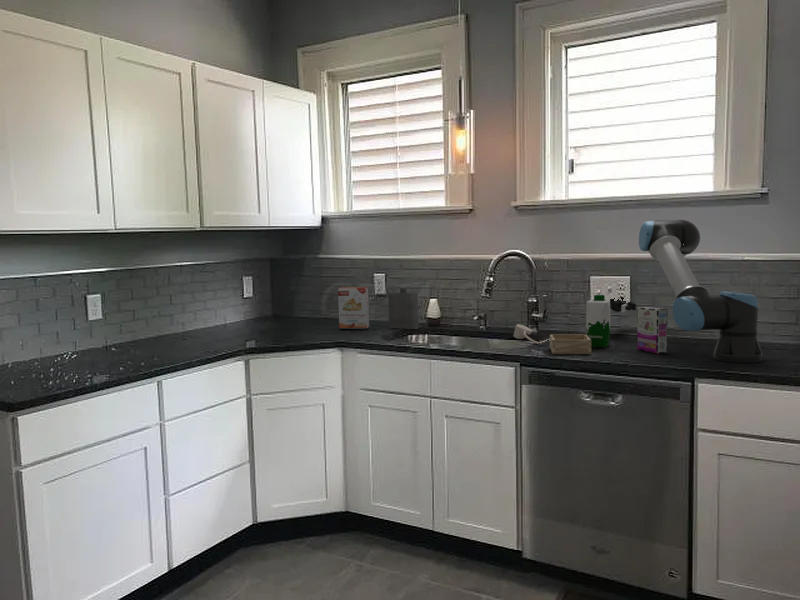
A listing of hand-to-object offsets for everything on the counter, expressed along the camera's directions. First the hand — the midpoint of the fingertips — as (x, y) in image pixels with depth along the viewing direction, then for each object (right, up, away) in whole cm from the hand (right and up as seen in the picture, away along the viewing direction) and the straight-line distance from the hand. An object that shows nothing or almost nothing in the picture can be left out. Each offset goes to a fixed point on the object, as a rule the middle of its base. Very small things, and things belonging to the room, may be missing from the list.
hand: (605, 308), depth 274 cm
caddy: (-18, -16, -16) cm, 29 cm away
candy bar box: (+11, -16, -20) cm, 28 cm away
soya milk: (-5, -15, -7) cm, 17 cm away
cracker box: (-106, -11, +58) cm, 121 cm away
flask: (-81, -11, +57) cm, 100 cm away
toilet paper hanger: (-27, -14, +15) cm, 34 cm away
